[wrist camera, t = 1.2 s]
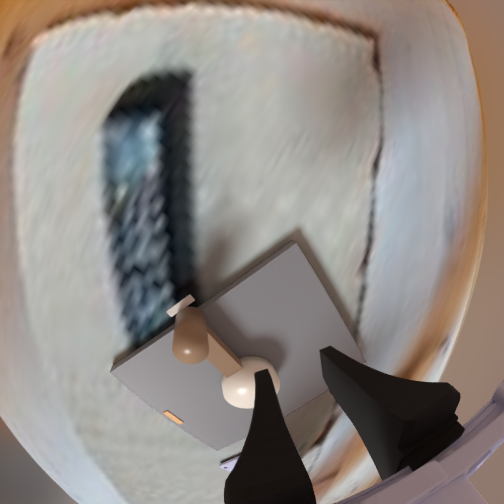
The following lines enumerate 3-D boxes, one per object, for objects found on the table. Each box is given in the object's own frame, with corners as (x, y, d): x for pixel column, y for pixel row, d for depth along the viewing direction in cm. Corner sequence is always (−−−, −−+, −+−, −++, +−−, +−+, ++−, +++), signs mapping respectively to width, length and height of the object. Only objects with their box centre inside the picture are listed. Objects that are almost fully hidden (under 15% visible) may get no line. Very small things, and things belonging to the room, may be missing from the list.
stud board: (361, 356, 27) (366, 362, 26) (216, 444, 27) (217, 451, 26) (281, 223, 21) (286, 226, 20) (100, 354, 21) (97, 361, 20)
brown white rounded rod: (284, 377, 24) (299, 408, 20) (241, 403, 24) (249, 435, 20) (207, 289, 20) (209, 316, 16) (157, 324, 20) (150, 356, 16)
